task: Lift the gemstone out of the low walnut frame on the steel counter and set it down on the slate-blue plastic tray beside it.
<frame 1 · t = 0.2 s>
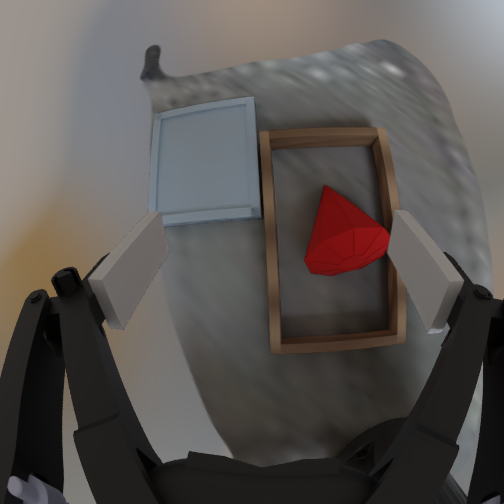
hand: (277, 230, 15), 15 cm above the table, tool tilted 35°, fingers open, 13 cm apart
frame: (333, 237, 30), on the table
tray: (204, 161, 32), on the table
gemstone: (331, 232, 30), on the table
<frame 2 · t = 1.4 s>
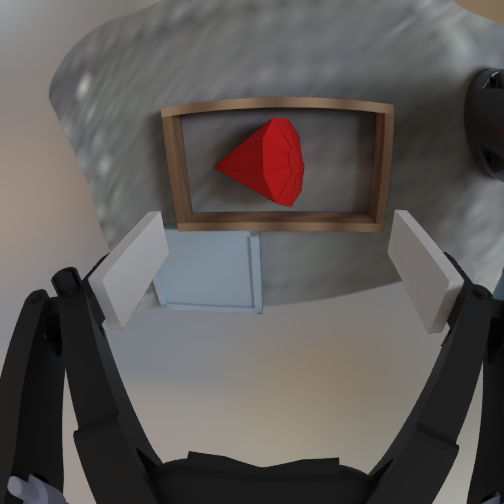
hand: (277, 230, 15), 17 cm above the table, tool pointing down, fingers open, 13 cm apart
frame: (279, 160, 30), on the table
tray: (205, 268, 38), on the table
gemstone: (261, 163, 30), on the table
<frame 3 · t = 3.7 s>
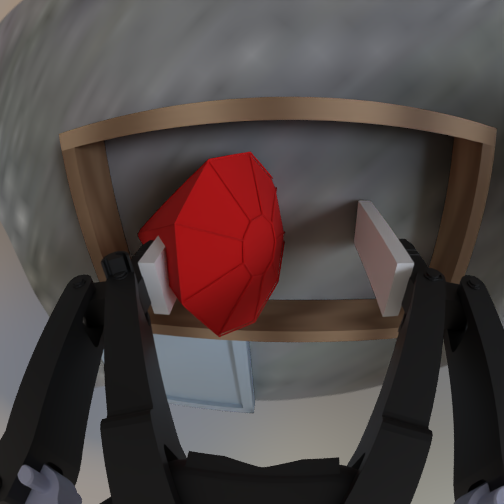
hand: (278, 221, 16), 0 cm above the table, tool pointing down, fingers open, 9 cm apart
frame: (281, 220, 17), on the table
tray: (172, 360, 25), on the table
gemstone: (210, 227, 18), on the table, touching gripper
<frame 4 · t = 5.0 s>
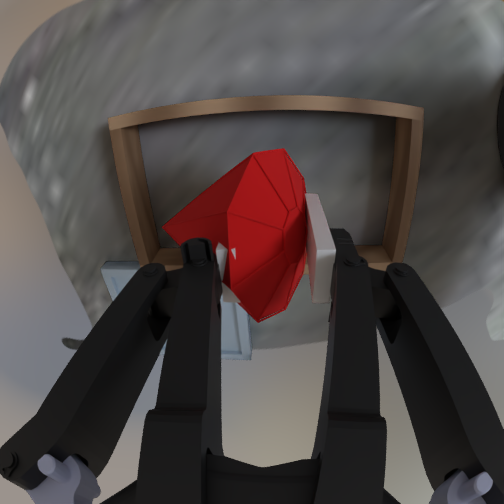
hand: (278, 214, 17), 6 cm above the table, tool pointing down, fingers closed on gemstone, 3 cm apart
frame: (268, 181, 23), on the table
tray: (181, 310, 31), on the table
gemstone: (237, 220, 19), point 5 cm above the table, touching gripper
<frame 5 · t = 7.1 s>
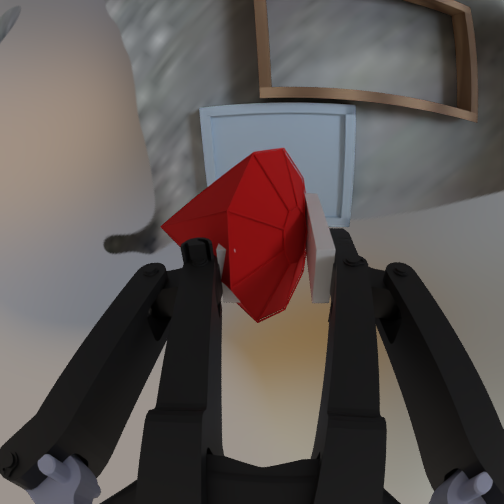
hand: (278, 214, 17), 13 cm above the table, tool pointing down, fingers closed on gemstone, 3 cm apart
frame: (372, 40, 20), on the table
tray: (279, 163, 29), on the table
gemstone: (237, 220, 19), point 12 cm above the table, touching gripper
when the fingers open (2 cm above the table, at t = 9.7 s): gemstone stays where it is, resting on tray.
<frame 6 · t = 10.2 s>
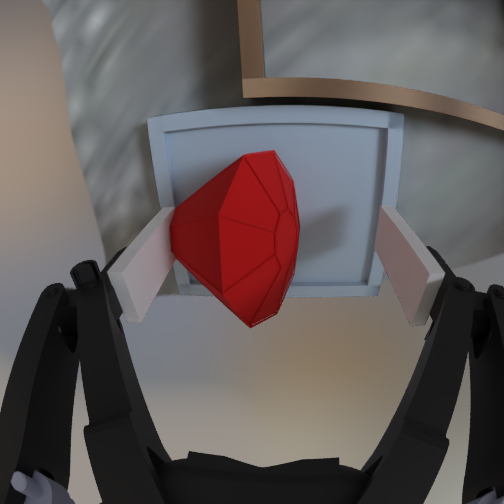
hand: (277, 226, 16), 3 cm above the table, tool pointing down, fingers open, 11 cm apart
frame: (423, 14, 10), on the table
tray: (278, 204, 19), on the table
gemstone: (226, 224, 18), point 1 cm above the table, touching tray
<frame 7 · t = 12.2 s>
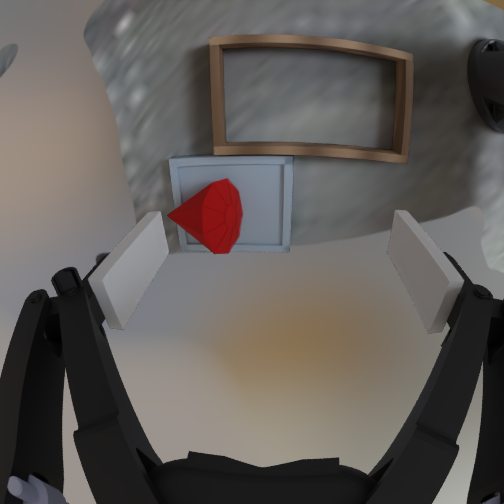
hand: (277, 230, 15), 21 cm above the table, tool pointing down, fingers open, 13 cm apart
frame: (314, 95, 29), on the table
tray: (232, 202, 37), on the table
gemstone: (206, 212, 37), point 1 cm above the table, touching tray
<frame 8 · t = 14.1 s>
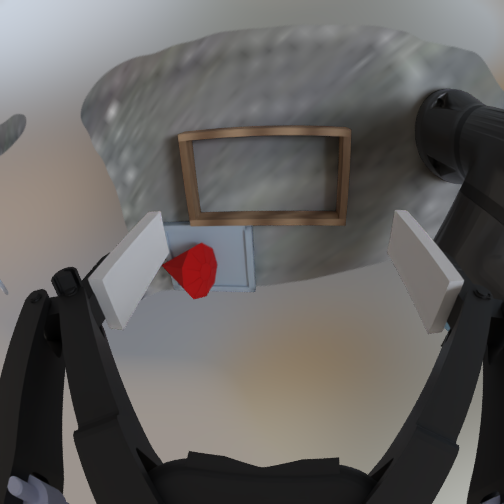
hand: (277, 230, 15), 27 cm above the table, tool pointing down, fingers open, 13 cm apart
frame: (266, 173, 40), on the table
tray: (210, 255, 49), on the table
gemstone: (190, 263, 48), point 1 cm above the table, touching tray
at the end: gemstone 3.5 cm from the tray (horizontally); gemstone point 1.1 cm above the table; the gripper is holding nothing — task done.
